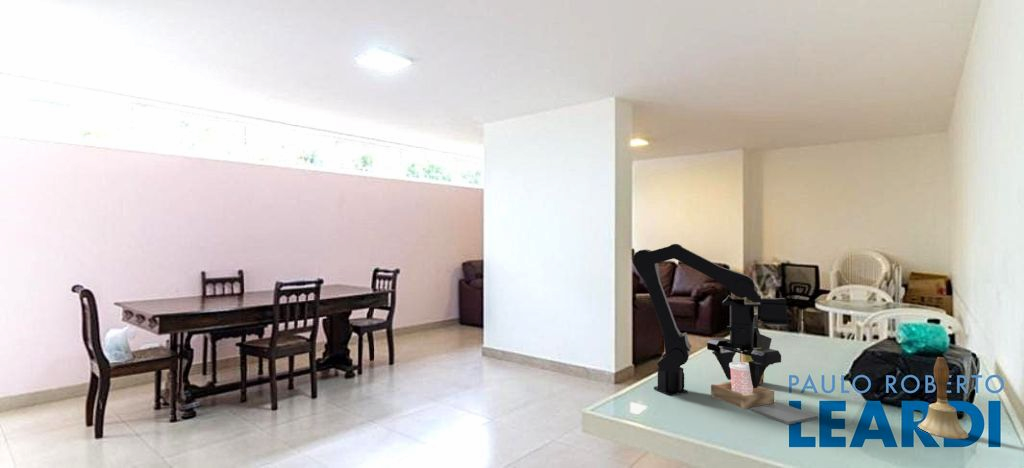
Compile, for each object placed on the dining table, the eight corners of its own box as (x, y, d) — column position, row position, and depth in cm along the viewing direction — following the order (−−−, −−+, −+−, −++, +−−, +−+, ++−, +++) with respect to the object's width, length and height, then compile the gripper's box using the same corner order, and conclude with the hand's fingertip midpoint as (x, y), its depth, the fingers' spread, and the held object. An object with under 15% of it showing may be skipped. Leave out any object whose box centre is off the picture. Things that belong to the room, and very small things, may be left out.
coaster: (788, 424, 112) (788, 421, 112) (750, 410, 121) (750, 408, 121) (818, 418, 116) (818, 415, 116) (779, 405, 126) (779, 402, 126)
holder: (744, 408, 123) (744, 396, 123) (711, 396, 133) (711, 384, 133) (774, 402, 127) (774, 390, 127) (740, 391, 137) (740, 380, 137)
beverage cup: (729, 401, 128) (729, 346, 128) (728, 394, 134) (728, 341, 134) (756, 404, 126) (756, 348, 126) (753, 397, 132) (753, 343, 132)
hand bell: (957, 442, 103) (956, 363, 103) (910, 428, 110) (909, 355, 111) (976, 435, 107) (975, 359, 107) (929, 422, 114) (928, 351, 114)
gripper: (796, 326, 125) (796, 389, 125) (735, 315, 142) (735, 371, 142) (764, 329, 120) (764, 395, 120) (705, 318, 137) (705, 375, 137)
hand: (742, 383), depth 130 cm, fingers closed on beverage cup, 8 cm apart
